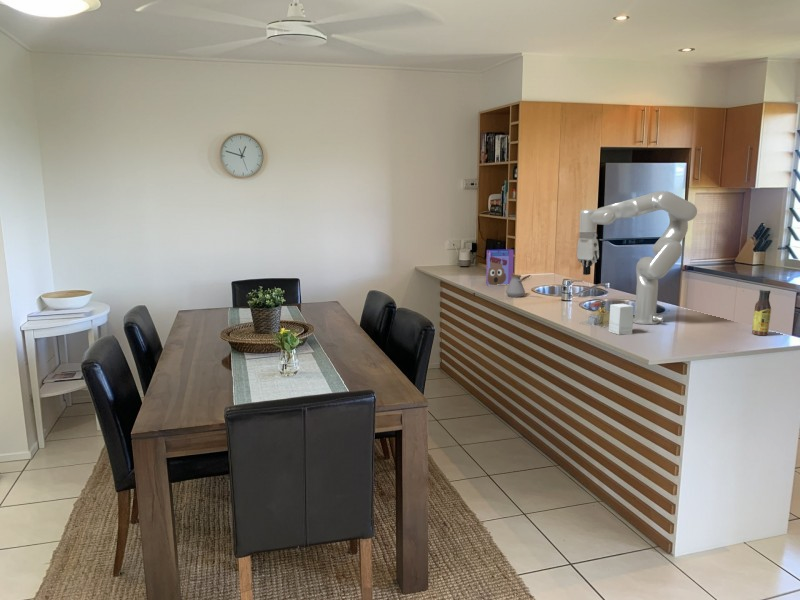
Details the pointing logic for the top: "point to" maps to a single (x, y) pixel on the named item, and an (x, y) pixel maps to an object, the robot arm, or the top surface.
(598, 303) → the lever
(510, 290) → the coffee pot
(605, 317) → the valve
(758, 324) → the sauce bottle
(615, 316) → the supplement box
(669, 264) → the robot arm
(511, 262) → the cereal box
